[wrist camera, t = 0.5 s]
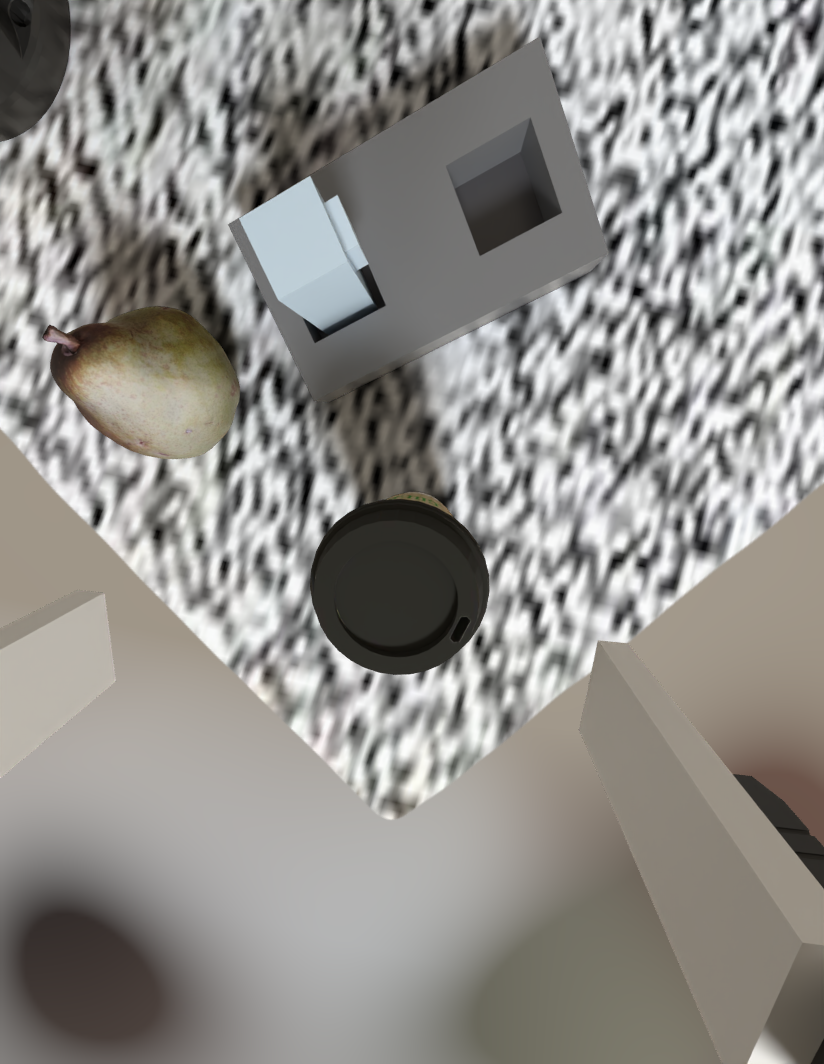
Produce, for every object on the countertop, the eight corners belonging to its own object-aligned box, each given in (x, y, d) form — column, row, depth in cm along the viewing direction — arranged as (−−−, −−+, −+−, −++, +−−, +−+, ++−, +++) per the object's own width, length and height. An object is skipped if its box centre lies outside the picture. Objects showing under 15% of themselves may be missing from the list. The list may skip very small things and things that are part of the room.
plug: (306, 283, 32) (239, 218, 21) (365, 251, 31) (324, 167, 21) (331, 337, 33) (278, 300, 22) (389, 307, 32) (362, 253, 21)
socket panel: (254, 247, 32) (228, 224, 28) (526, 87, 29) (539, 36, 25) (328, 402, 35) (314, 401, 31) (588, 273, 31) (608, 253, 27)
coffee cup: (383, 449, 35) (341, 472, 21) (494, 499, 36) (528, 557, 21) (339, 554, 38) (274, 641, 23) (443, 600, 38) (442, 713, 24)
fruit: (180, 297, 33) (39, 234, 22) (283, 373, 34) (201, 351, 23) (123, 410, 36) (-29, 408, 24) (221, 478, 37) (119, 507, 25)
